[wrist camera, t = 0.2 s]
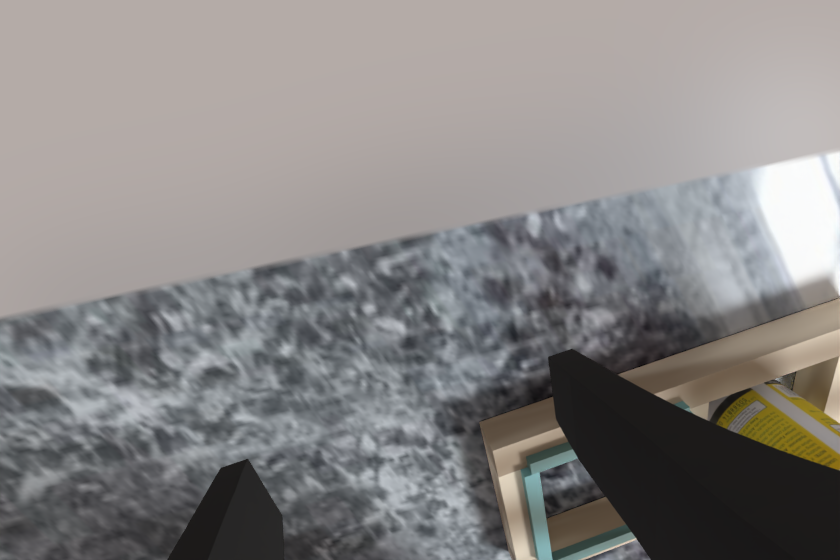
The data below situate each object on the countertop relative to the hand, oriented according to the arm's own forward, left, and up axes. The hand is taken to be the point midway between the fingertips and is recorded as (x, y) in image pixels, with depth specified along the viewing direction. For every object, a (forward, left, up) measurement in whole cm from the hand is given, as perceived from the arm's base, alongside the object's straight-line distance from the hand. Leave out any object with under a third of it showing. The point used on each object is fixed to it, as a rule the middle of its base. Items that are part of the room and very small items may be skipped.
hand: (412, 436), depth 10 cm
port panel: (-16, -14, -9) cm, 24 cm away
